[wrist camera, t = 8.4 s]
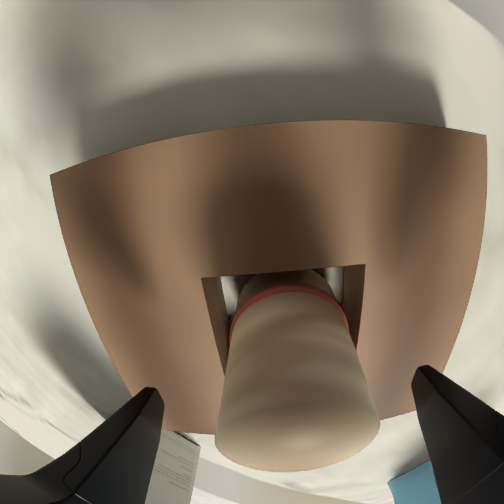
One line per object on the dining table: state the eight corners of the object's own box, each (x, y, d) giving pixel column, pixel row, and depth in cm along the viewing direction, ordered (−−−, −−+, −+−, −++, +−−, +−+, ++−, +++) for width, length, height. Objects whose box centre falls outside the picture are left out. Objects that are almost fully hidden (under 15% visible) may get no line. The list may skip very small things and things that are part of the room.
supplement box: (103, 418, 20) (60, 514, 8) (143, 407, 18) (96, 535, 6) (156, 454, 22) (130, 545, 10) (204, 448, 20) (182, 561, 8)
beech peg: (333, 250, 12) (403, 381, 5) (330, 331, 14) (364, 461, 7) (230, 258, 13) (190, 400, 5) (243, 338, 14) (227, 473, 7)
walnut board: (448, 133, 10) (486, 135, 7) (411, 377, 15) (425, 407, 13) (88, 166, 11) (49, 174, 9) (164, 396, 17) (152, 427, 14)
